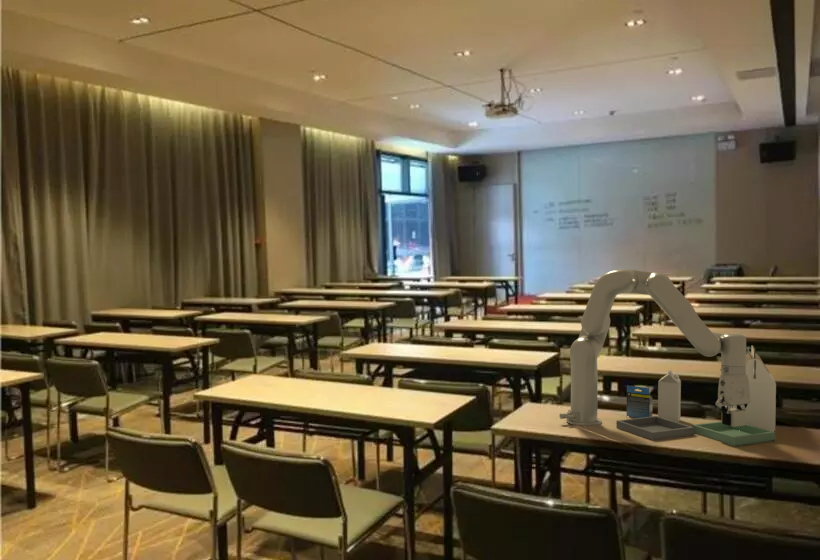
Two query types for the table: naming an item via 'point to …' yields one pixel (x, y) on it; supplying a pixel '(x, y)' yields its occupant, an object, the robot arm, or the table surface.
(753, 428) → the sage green bin
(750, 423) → the gable box
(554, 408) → the table surface
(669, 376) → the milk carton
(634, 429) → the charcoal bin
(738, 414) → the beige cube
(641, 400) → the label tape cartridge
